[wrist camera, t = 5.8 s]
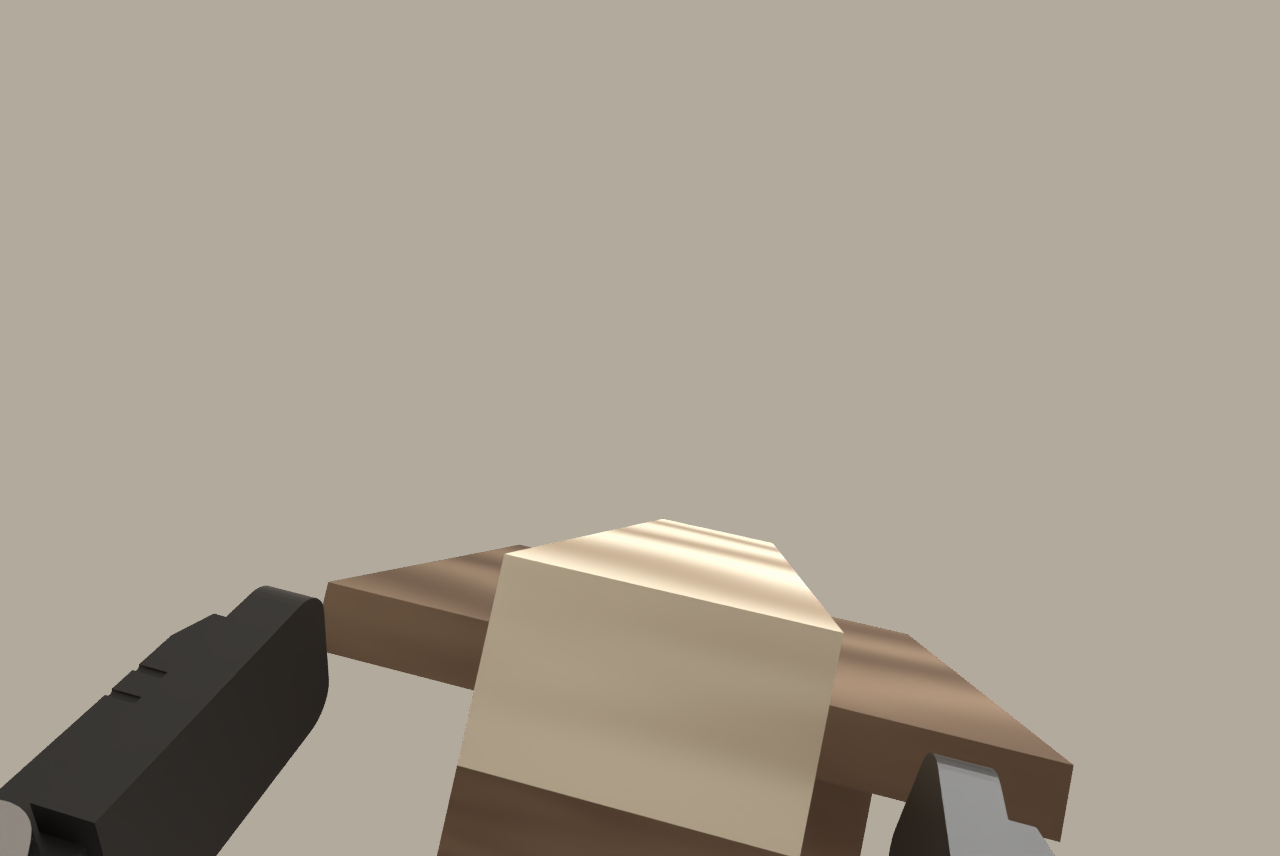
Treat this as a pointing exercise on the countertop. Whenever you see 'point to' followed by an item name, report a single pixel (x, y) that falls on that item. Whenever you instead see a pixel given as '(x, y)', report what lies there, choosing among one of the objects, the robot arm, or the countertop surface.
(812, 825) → the walnut stand
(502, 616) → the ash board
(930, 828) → the robot arm
